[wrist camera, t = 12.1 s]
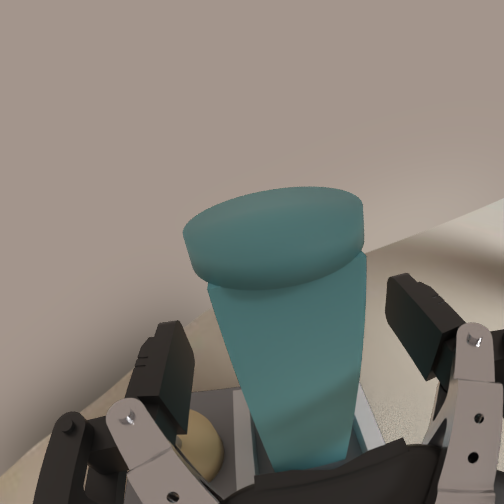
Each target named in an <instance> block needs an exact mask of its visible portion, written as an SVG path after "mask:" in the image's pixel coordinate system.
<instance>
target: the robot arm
mask: <svg viewBox="0 0 504 504" xmlns="http://www.w3.org/2000/svg"><path fill="white" fill-rule="evenodd" d="M385 314H386V319H387V322H388V324H389V325H390V327H391V328H392V330H393V331H394V333H395V334H396V336H397V337H398V339H399V340H400V342H401V343H402V345H403V346H404V348H405V349H406V351H407V352H408V354H409V355H410V357H411V358H412V360H413V361H414V363H415V365H416V366H417V368H418V369H419V371H420V372H421V374H422V376H423V377H424V379H425V380H426V381H428V380H430V379H433V378H435V377H437V378H438V380H439V382H438V384H437V389H436V394H435V400H434V405H433V409H432V414H431V418H430V423H429V426H428V430H427V432H426V434H425V437H424V439H423V442H422V444H409V445H406V443H405V441H404V439H403V437H402V438H400V439H398V440H395V441H393V442H390V443H387V444H385V445H382V446H379V447H376V448H374V449H371V450H368V451H367V452H365V453H363V454H362V455H360V456H358V457H356V458H355V459H353V460H351V461H349V462H347V463H346V464H344V465H342V466H340V467H338V468H336V469H331V470H288V471H282V472H276V473H269V474H261V475H254V484H251V485H248V486H246V487H244V488H241V489H239V490H238V491H236V492H234V493H232V494H231V495H230V496H228V497H227V498H225V499H224V498H223V497H222V496H221V495H220V494H219V493H218V492H217V491H216V490H215V489H214V488H213V487H212V486H211V485H210V484H209V483H208V482H207V480H206V479H205V478H204V477H203V476H202V475H201V474H200V473H199V472H198V470H197V469H196V468H195V467H194V466H193V464H192V463H191V462H190V461H189V460H188V458H187V457H186V456H185V455H184V454H183V452H182V451H181V450H180V448H179V447H178V446H177V445H176V435H187V431H188V420H189V410H190V401H191V391H192V383H193V374H194V366H195V360H194V354H193V351H192V348H191V346H190V343H189V341H188V339H187V336H186V334H185V332H184V329H183V327H182V325H181V323H180V321H178V320H177V321H171V322H163V323H159V324H158V327H157V330H156V333H155V336H154V337H149V338H148V339H147V341H146V342H145V343H144V344H143V345H142V347H141V349H140V352H139V355H138V359H137V361H136V364H135V368H134V370H133V373H132V376H131V379H130V382H129V385H128V389H127V392H126V395H125V398H124V399H121V400H119V401H117V402H115V403H114V404H113V405H112V406H111V407H110V408H109V410H108V412H107V415H106V416H103V417H99V418H95V419H91V420H86V419H85V418H84V417H83V416H82V415H81V414H80V413H78V412H68V413H66V414H64V415H62V416H61V417H60V418H59V419H58V420H57V422H56V423H55V426H54V429H53V431H52V434H51V437H50V441H49V444H48V447H47V450H46V453H45V457H44V460H43V464H42V467H41V471H40V475H39V479H38V483H37V487H36V491H35V496H34V501H33V504H124V493H125V483H126V475H127V477H128V480H129V481H130V483H131V485H132V487H133V488H134V490H135V492H136V493H137V495H138V497H139V498H140V500H141V501H142V503H143V504H504V472H502V471H499V470H497V464H498V458H499V450H500V442H501V432H502V417H503V418H504V329H503V330H497V331H491V332H490V331H489V330H488V329H487V328H486V327H485V326H483V325H481V324H478V323H472V322H471V323H466V322H465V321H464V320H463V319H462V318H461V317H460V316H459V315H458V314H457V313H456V312H455V311H454V310H453V309H452V308H451V307H450V306H449V305H448V304H447V303H446V302H445V301H444V300H443V299H442V298H441V297H440V296H439V295H438V294H437V293H436V292H435V291H434V290H433V289H432V288H431V287H430V286H428V285H426V284H424V283H422V282H417V281H416V280H415V279H413V278H412V277H411V276H410V275H409V274H408V273H403V274H400V275H396V276H392V277H389V279H388V282H387V294H386V306H385ZM87 465H88V466H89V469H88V474H87V480H86V485H85V491H84V488H83V485H84V479H85V474H86V469H87ZM127 470H130V471H128V472H127Z"/></svg>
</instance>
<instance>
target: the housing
mask: <svg viewBox="0 0 504 504" xmlns="http://www.w3.org/2000/svg"><path fill="white" fill-rule="evenodd" d="M176 445H177V446H178V447H179V448H180V450H181V451H182V452H183V454H184V455H185V456H186V457H187V458H188V460H189V461H190V462H191V463H192V464H193V466H194V467H195V468H196V469H197V470H198V472H199V473H200V474H201V475H202V476H203V477H204V478H205V479H206V480H207V482H208V483H209V484H210V485H211V486H212V487H213V488H214V489H215V490H216V491H217V492H218V493H219V494H220V495H221V496H222V497H223V498H224V499H225V498H227V497H228V496H230V495H231V494H232V493H234V492H236V491H238V490H239V489H241V488H244V487H246V486H248V485H251V484H254V475H261V474H269V473H275V471H274V469H273V467H272V464H271V462H270V460H269V457H268V455H267V453H266V450H265V448H264V445H263V443H262V441H261V438H260V436H259V433H258V431H257V428H256V426H255V423H254V421H253V418H252V416H251V413H250V410H249V408H248V405H247V403H246V400H245V397H244V395H243V392H242V389H241V387H234V388H227V389H219V390H210V391H201V392H191V401H190V410H189V420H188V431H187V435H176ZM382 445H385V441H384V439H383V436H382V434H381V431H380V429H379V427H378V424H377V422H376V419H375V417H374V415H373V412H372V410H371V407H370V405H369V403H368V400H367V398H366V396H365V394H364V391H363V389H362V387H361V384H360V382H359V386H358V393H357V400H356V407H355V413H354V419H353V425H352V430H351V435H350V440H349V445H348V450H347V455H346V459H345V460H341V461H338V462H334V463H330V464H327V465H323V466H319V467H314V468H310V469H305V470H331V469H336V468H338V467H340V466H342V465H344V464H346V463H347V462H349V461H351V460H353V459H355V458H356V457H358V456H360V455H362V454H363V453H365V452H367V451H368V450H371V449H374V448H376V447H379V446H382ZM129 471H130V470H129ZM124 504H143V503H142V501H141V500H140V498H139V497H138V495H137V493H136V492H135V490H134V488H133V487H132V485H131V483H130V481H129V480H127V485H126V492H125V498H124Z"/></svg>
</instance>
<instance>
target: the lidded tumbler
mask: <svg viewBox="0 0 504 504" xmlns="http://www.w3.org/2000/svg"><path fill="white" fill-rule="evenodd" d="M183 237H184V240H185V244H186V247H187V250H188V253H189V257H190V260H191V264H192V266H193V269H194V271H195V273H196V274H197V275H198V276H199V277H200V278H201V279H203V280H205V281H206V282H208V288H207V290H208V293H209V296H210V300H211V303H212V306H213V309H214V312H215V315H216V318H217V321H218V324H219V327H220V330H221V333H222V336H223V339H224V342H225V345H226V348H227V351H228V354H229V356H230V359H231V362H232V365H233V368H234V370H235V373H236V376H237V379H238V381H239V384H240V387H241V389H242V392H243V395H244V397H245V400H246V403H247V405H248V408H249V410H250V413H251V416H252V418H253V421H254V423H255V426H256V428H257V431H258V433H259V436H260V438H261V441H262V443H263V445H264V448H265V450H266V453H267V455H268V457H269V460H270V462H271V464H272V467H273V469H274V471H275V473H276V472H282V471H288V470H305V469H310V468H314V467H319V466H323V465H327V464H330V463H334V462H338V461H341V460H345V459H346V455H347V450H348V445H349V440H350V435H351V430H352V425H353V419H354V413H355V407H356V400H357V393H358V386H359V378H360V370H361V360H362V350H363V338H364V324H365V306H366V255H365V254H364V253H363V252H362V251H361V250H362V247H363V244H364V220H363V204H362V202H361V200H360V199H359V198H358V197H357V196H355V195H353V194H352V193H349V192H347V191H343V190H339V189H334V188H326V187H290V188H280V189H273V190H268V191H261V192H257V193H252V194H248V195H244V196H241V197H237V198H234V199H231V200H228V201H225V202H222V203H220V204H217V205H215V206H213V207H211V208H209V209H207V210H205V211H203V212H201V213H200V214H198V215H196V216H195V217H194V218H192V219H191V220H190V221H189V222H188V223H187V224H186V226H185V227H184V230H183Z"/></svg>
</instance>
